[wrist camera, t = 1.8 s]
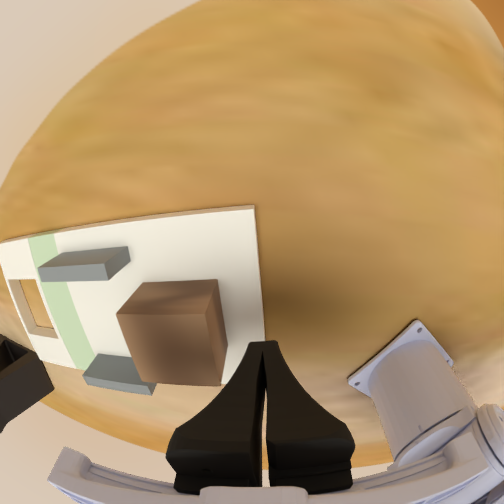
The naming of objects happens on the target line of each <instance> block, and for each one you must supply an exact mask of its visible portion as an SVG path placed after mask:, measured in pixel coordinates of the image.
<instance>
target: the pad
mask: <svg viewBox="0 0 504 504" xmlns="http://www.w3.org/2000/svg"><path fill="white" fill-rule="evenodd" d="M63 229H64V228H63ZM60 230H62V229H58V230H52V231H47V232H42V233H38V234H36V235H33V236H31V237H29V238H28V241H29V245H30V249H31V253H32V257H33V260H34V264H35V267H36V271H37V274H38V277H39V280H40V283H41V286H42V289H43V292H44V295H45V298H46V300H47V303H48V306H49V308H50V311H51V314H52V316H53V318H54V321H55V323H56V326H57V328H58V330H59V333H60V335H61V337H62V339H63V341H64V343H65V346H66V348H67V350H68V352H69V354H70V356H71V358H72V360H73V362H74V364H75V366H76V367H77V369H81V370H87V368H88V367H89V365H90V364H91V363H92V361H93V360H94V358H95V357H96V356H95V354H94V352H93V350H92V348H91V345H90V343H89V341H88V339H87V336H86V334H85V331H84V329H83V327H82V324H81V322H80V319H79V316H78V314H77V311H76V309H75V306H74V303H73V300H72V297H71V294H70V291H69V288H68V285H67V282H41V279H40V276H39V272H38V269H37V268H38V267H39V266H41V265H43V264H44V263H46V262H48V261H49V260H51V259H53V258H54V257H56V256H58V255H59V254H58V251H57V247H56V242H55V238H54V233H56V232H58V231H60Z"/></svg>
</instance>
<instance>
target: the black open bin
mask: <svg viewBox="0 0 504 504" xmlns="http://www.w3.org/2000/svg"><path fill="white" fill-rule="evenodd" d="M53 390H54V388H53V386H52V383H51V381H50V379H49V377H48V375H47V373H46V370H45V368H44V366H43V363H42V361H41V360H40V359H39V357H38V355H37V353H36V352H34V351H32V350H30V349H28V348H26V347H24V346H22V345H20V344H17V343H16V342H14V341H12V340H10V339H9V338H7V337H5V336H3V335H2V334H0V433H1V432H2V431H3V429H4V427H5V426H6V424H7V423H8V422H9V421H11V420H12V419H14V418H15V417H17V416H18V415H19V414H21V413H22V412H24V411H25V410H26V409H28V408H29V407H31V406H32V405H33V404H35V403H36V402H38V401H39V400H41V399H42V398H43V397H45V396H46V395H48V394H49V393H50V392H52V391H53Z"/></svg>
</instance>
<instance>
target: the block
mask: <svg viewBox="0 0 504 504" xmlns="http://www.w3.org/2000/svg"><path fill="white" fill-rule="evenodd" d="M116 317H117V320H118V323H119V326H120V328H121V331H122V334H123V336H124V339H125V342H126V344H127V347H128V349H129V352H130V354H131V357H132V359H133V362H134V364H135V366H136V369H137V371H138V373H139V375H140V378H141V380H142V382H152V383H162V384H175V385H192V386H221V382H222V376H223V370H224V365H225V359H226V354H227V348H228V341H227V336H226V330H225V324H224V317H223V311H222V305H221V299H220V292H219V285H218V279H207V280H186V281H164V282H143V283H142V284H141V285H140V286H139V287H138V288H137V289H136V291H135V292H134V293H133V294H132V295H131V296H130V297H129V299H128V300H127V301H126V302H125V303H124V304H123V306H122V307H121V308H120V309H119V310H118V311H117V313H116Z"/></svg>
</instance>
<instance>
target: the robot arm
mask: <svg viewBox="0 0 504 504" xmlns="http://www.w3.org/2000/svg"><path fill="white" fill-rule="evenodd" d="M453 363H454V362H453V360H452V359H451V358H450V357H449V355H448V354H447V353H446V352H445V350H444V349H443V348H442V347H441V345H440V344H439V343H438V342H437V340H436V339H435V338H434V337H433V336H432V334H431V333H430V332H429V331H428V330H427V328H426V327H425V326H424V325H423V324H422V323H421V321H419V320H415V321H414V322H412V323H411V324H410V325H409V326H408V327H407V328H406V329H405V330H404V331H403V332H402V333H401V334H400V335H399V336H398V337H397V338H396V339H394V340H393V341H392V342H391V343H390V344H389V345H388V346H387V347H386V348H384V349H383V350H382V351H381V352H380V353H379V354H378V355H376V356H375V357H374V358H373V359H372V360H370V361H369V362H368V363H367V364H366V365H364V366H363V367H362V368H361V369H359V370H358V371H357V372H356V373H354V374H353V375H352V376H350V377H349V378H348V384H349V385H351V386H352V387H354V388H355V389H357V390H359V391H360V392H362V393H364V394H365V395H367V396H369V397H370V398H372V399H373V402H374V405H375V407H376V410H377V413H378V416H379V418H380V421H381V424H382V427H383V430H384V432H385V435H386V438H387V441H388V444H389V447H390V450H391V453H392V456H393V459H394V463H393V464H392V465H390V466H389V467H388V468H387V470H388V471H385V472H381V473H378V474H374V475H370V476H366V477H362V478H358V479H353V480H352V475H351V470H350V469H351V461H350V459H351V457H352V454H353V452H354V450H355V443H354V440H353V437H352V435H351V433H350V431H349V429H348V428H347V426H346V424H345V423H343V422H342V421H340V420H339V419H337V418H336V417H334V416H333V415H331V414H330V413H329V412H328V411H326V410H325V409H324V408H323V407H322V406H320V405H319V404H318V403H317V402H316V401H315V400H314V399H313V398H312V397H311V396H310V395H309V394H308V393H307V392H306V391H305V390H304V388H303V387H302V386H301V385H300V383H299V382H298V381H297V379H296V378H295V377H294V375H293V374H292V372H291V371H290V369H289V367H288V365H287V364H286V362H285V360H284V358H283V356H282V354H281V351H280V349H279V346H278V342H277V341H276V340H273V341H255V342H250V343H249V344H248V346H247V349H246V352H245V354H244V356H243V358H242V360H241V362H240V364H239V366H238V367H237V369H236V371H235V372H234V374H233V375H232V377H231V378H230V380H229V381H228V383H227V384H226V385H225V387H224V388H223V389H222V390H221V392H220V393H219V394H218V395H217V396H216V397H215V398H214V399H213V400H212V401H211V402H210V403H209V404H208V405H207V406H206V407H205V408H204V409H203V410H202V411H200V412H199V413H198V414H197V415H196V416H194V417H193V418H192V419H190V420H189V421H187V422H186V423H184V424H183V425H181V426H180V427H178V428H176V429H175V431H174V433H173V435H172V437H171V439H170V442H169V445H168V449H167V452H166V459H167V461H168V462H169V464H170V465H171V466H172V468H173V469H174V470H175V472H176V478H175V482H174V484H173V483H167V482H162V481H157V480H152V479H147V478H143V477H139V476H135V475H131V474H127V473H124V472H120V471H116V470H113V469H110V468H107V467H104V466H101V465H98V464H95V463H92V462H91V461H90V459H89V458H88V457H86V456H85V455H84V454H82V453H80V452H78V451H75V450H73V449H70V448H68V447H64V448H63V450H62V452H61V454H60V455H59V457H58V459H57V461H56V463H55V465H54V467H53V469H52V471H51V473H50V475H49V477H48V479H47V480H48V482H49V483H51V484H52V485H53V486H54V487H56V488H57V489H58V490H60V491H61V492H63V493H64V494H65V495H67V496H68V497H70V498H71V499H72V500H74V501H75V502H78V503H80V504H504V410H503V409H501V408H500V407H499V406H498V405H496V404H484V405H482V406H481V407H480V408H478V407H477V406H476V404H475V403H474V401H473V399H472V398H471V396H470V395H469V393H468V392H467V390H466V389H465V387H464V386H463V384H462V383H461V381H460V380H459V378H458V377H457V376H456V374H455V373H454V371H453V370H452V368H451V367H452V366H453ZM356 382H357V383H356ZM265 390H266V393H267V424H266V445H267V454H268V463H269V481H270V487H262V420H263V411H264V401H265Z"/></svg>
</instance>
